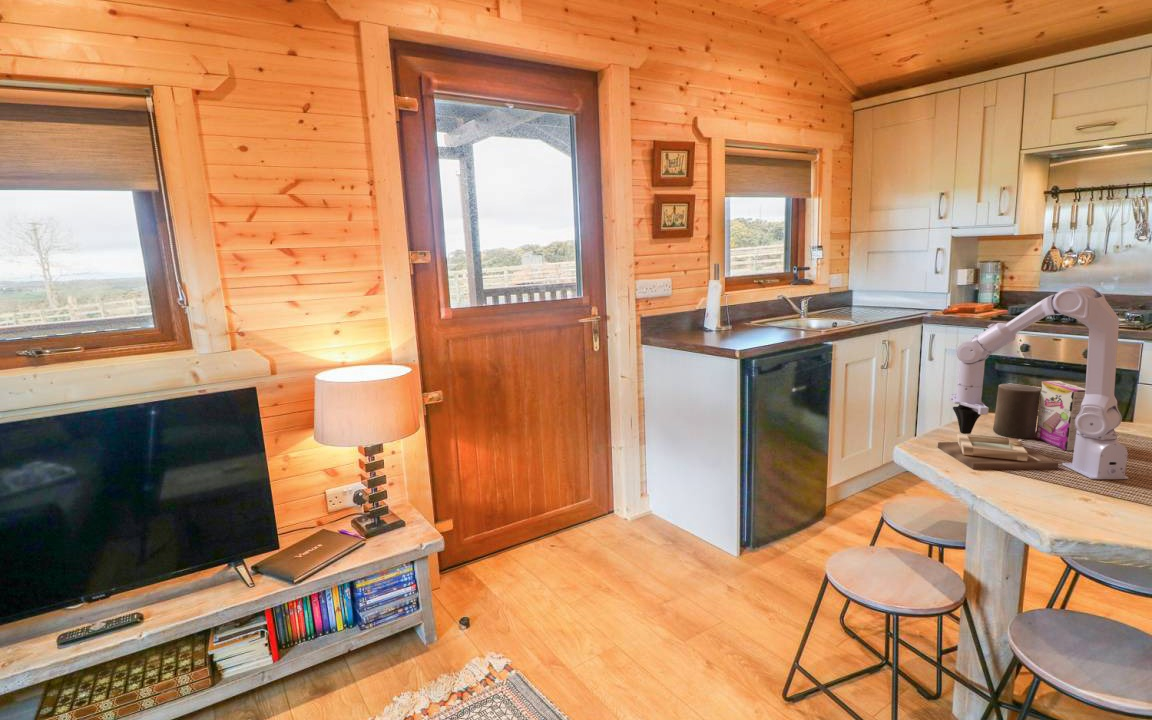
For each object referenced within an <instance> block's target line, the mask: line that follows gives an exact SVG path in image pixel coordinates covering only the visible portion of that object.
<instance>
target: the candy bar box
mask: <svg viewBox="0 0 1152 720" xmlns="http://www.w3.org/2000/svg"><path fill="white" fill-rule="evenodd" d="M1085 388H1086V387H1081V386H1078V385H1074V384H1071V383H1068V382H1065V381H1061V380H1042V381H1041V386H1040V389H1041V392H1040V400H1039V408H1038V416H1037V424H1036V432H1035V438H1036V439H1038V440H1041V441H1043V442H1045V443H1047V444H1050V445H1052V446H1054V447H1056V448H1058V449H1061V450H1063V451H1065V450H1066V452H1074V446H1075V438H1076V430H1077V428H1076V426H1075V418H1076V416H1077V415H1078V414H1079V413H1080V410H1081V404H1082V401H1083V399H1084V396H1085Z"/></svg>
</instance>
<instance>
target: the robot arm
mask: <svg viewBox="0 0 1152 720" xmlns="http://www.w3.org/2000/svg"><path fill="white" fill-rule="evenodd" d="M1060 314H1061V315H1064V316H1065V317H1066V316H1067V317H1069V318H1072V319H1076V321H1078V322H1080V323H1081V324H1082V325H1084V326H1085V327H1087V329H1088V339H1087V340H1088V341H1087V343H1088V344H1087V357H1086V359H1087V360H1086V375H1085V376H1086V377H1085V387H1084V388H1085V396H1084V399H1083V401H1082V404H1081V410H1080V413H1079V414H1078V415H1077V416H1076V418H1075V426H1076V428H1077V430H1076V438H1075V446H1074V451H1073V453H1072V454H1073V455H1072V462H1061V464H1062V466H1064V467H1065V468H1067V469H1070V470H1073V471H1074V472H1076V473H1079V474H1080V475H1083V476H1084V477H1087V478H1089V479H1091V480H1128V479H1129V477H1128V476H1127V475H1126V470H1127V463H1128V462H1127V461H1128V456H1129V453H1128V449H1127V448H1126V446H1124V445H1123V444H1121V443H1120V441H1119V440H1118V434H1117V431H1116V430H1115V429H1116V428H1118V427H1119V426H1120V425H1121V424H1122V420H1123V419H1122V417H1123V416H1122V413H1121V412H1120V410H1119V408H1118V400H1117V398H1116V396H1115V387H1116V386H1115V385H1116V374H1117V373H1116V372H1117V358H1118V357H1117V356H1118V344H1119V343H1118V342H1119V341H1118V340H1119V329H1120V319H1119V316H1118V315H1117V313H1116V312H1115V310H1114V309H1113V308H1112V307H1111V305H1110V303H1108V301H1107V300H1106V297H1105V294H1104V293H1102V292H1101V291H1099V290H1097V289H1095V288H1093V287H1092V286H1088V285H1078V286H1075V287H1068V288H1066V287H1065V288H1063V289H1061V290H1059V291H1058V292H1056V293H1055V294H1054V293H1053V294H1051V295H1049V296H1047V297H1045V298H1043V299H1042V300H1040V301H1038V302H1037V303H1035V304H1034V305H1032V306H1031V307H1029V308H1027V309H1026V310H1024V311H1023V312H1021V313H1020V314H1019V315H1017V316H1016V317H1014V318H1013V319H1011V320H1009V321H1008V322H1007V323H1004V322H997V323H991V324H989V325H987V328H988V329H985V330H984V331H983V332H981V333H978V334H975V335H973V336H972V337H971V339H972V340H970V341H963V342H961V344H960V345H959V346H958V347H957V349H956V351H955V352H956V353H955V354H956V357H957V359H958V360H959V364H958V372H957V383H956V384H957V385H956V393H955V394H954V393H951V394H949V402H951V403H952V404H954V405H957V406H952V410H953V412H954V413H955V416H956V419H957V423H958V428H959V433H960V434H971V435H972V431H973V429H974V427H975V424H976V422H977V420H978V419H979V418H980V417H981V416H982V415H983V416H985V415H986V416H988V415H989V410H990V408H989V407H988V406H986V404H985V403H984V402H983V401H982V396H983V389H984V388H983V387H984V386H983V385H984V375H985V363H986V360H987V359H988V358H989V357H990V355H992V354H994V353H995V352H997V351H999V350H1001V349H1002V348H1004V347H1006V346H1008V345H1009V344H1011V343H1012V342H1014V341H1015V340H1016V336H1017V333H1019V332H1021V331H1022V330H1024V329H1026V328H1027V327H1029V326H1032V325H1033V324H1035V323H1036V322H1038V321H1040V320H1042V319H1044V318H1046V317H1047V316H1055V315H1060Z"/></svg>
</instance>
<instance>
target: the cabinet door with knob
mask: <svg viewBox="0 0 1152 720" xmlns="http://www.w3.org/2000/svg"><path fill="white" fill-rule="evenodd" d="M956 436H957V437H956V442H958V444H959V446H960V448H961V451H962V453H963V455H972V456H982V457H992V458H1001V459H1011V460H1021V461H1027V458H1028V453H1027V451H1026V450H1025V449H1024V447H1025V446H1024V445H1023V443H1021V442H1020V440H1019V439H1018V438H1013V437H1005V436H1004V437H1003V436H993V435H992V436H991V435H990V436H989V435H981V434H980V435H979V434H972V433H971V434H962V433H960V432H959V433H958V432H957V435H956ZM1023 446H1024V447H1023Z"/></svg>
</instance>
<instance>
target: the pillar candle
mask: <svg viewBox="0 0 1152 720" xmlns="http://www.w3.org/2000/svg"><path fill="white" fill-rule="evenodd" d="M1040 394H1041V387H1037V386H1032V385H1027V384H1021V383H1020V382H1018V384H1016V383H1000V384H998V388H997V396H996V402H995V403H996V405H995V413H994V421H993V427H992V430H993V432H994V433H995V434H997V435H999V436H1001V437H1003V436H1004V437H1006V438H1015V439H1017V440H1019V439H1020V440H1023V439H1025V440H1026V439H1034V438H1036V430H1037V422H1038V413H1039V403H1040Z"/></svg>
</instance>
